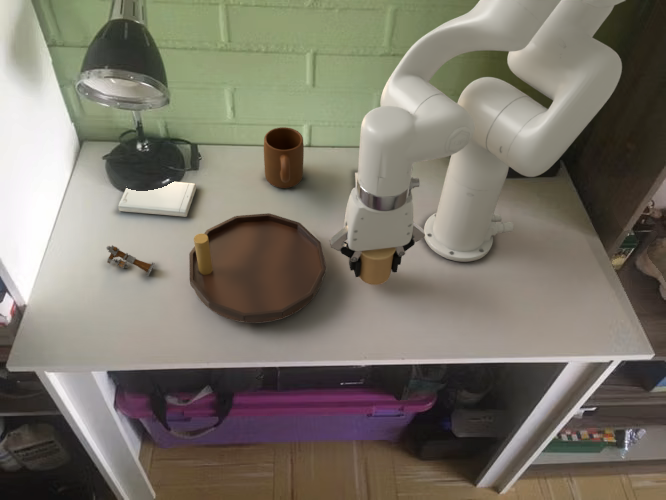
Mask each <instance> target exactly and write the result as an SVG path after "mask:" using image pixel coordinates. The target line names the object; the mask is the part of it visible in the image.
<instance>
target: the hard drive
mask: <svg viewBox="0 0 666 500" xmlns="http://www.w3.org/2000/svg"><path fill="white" fill-rule="evenodd" d="M196 191H197V184H196V183H194V182H193V183H192V182H184V181H174V182H172V183H170V184H168V185H167V186H164V187H162V188H158V189H154V190H148V191H136V190H131V189H128V188H125V190H124V191H123V193H122V196H121V198H120V201H119V202H118V206H117V207H118V212H127V213H139V214H147V215H149V214H150V215H161V216H174V217H184V218H185V217H188V214H189V212H190V208H191V204H192V203H193V199H194V197H195V194H196Z"/></svg>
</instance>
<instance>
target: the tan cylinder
mask: <svg viewBox="0 0 666 500" xmlns="http://www.w3.org/2000/svg"><path fill="white" fill-rule="evenodd" d="M395 251H396V248H395V247H392V248H384V249H375V250H365V251H363V252H361V255H360V260H361V269H360V276H359V277H358V278H359V279H360V280H361V281H362V282H364V283H365V284H368V285H371V286H377V285H382V284H384V283H386V282H387V281H388V280H389V279H390V277H391V275H392V269H391V268H392V261H393V254H394V253H395Z"/></svg>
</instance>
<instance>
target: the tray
mask: <svg viewBox="0 0 666 500" xmlns="http://www.w3.org/2000/svg"><path fill="white" fill-rule="evenodd" d="M193 243H194V245H193V248H191V250H190V251H189V254H188V255H189V257H188V260H189V262H188V263H189V264H188V265H189V266H188V267H189V285H190V287H191V288H192V289H193V290H194V292H195V294H196V296H197V297H198V299H199V301H201V303H203V305H205V307H206V308H208V309H209V310H211V311H212V312H213V313H215V314H217V315H219V316H221V317H224V318H226V319H229V320H231V321H236V322H241V323H247V324H249V323H250V324H259V323H269V322H275V321H278V320H282V319H284V318H287V317H290V316H292V315H294V314H295V313H297V312H299V311H300V310H302V309H303V308H305V307H306V306H307V305H308V304H310V303H311V301H312V300H313V299H314V298H315V297H316V296H317V294H318V292H319V290H320V289H321V287H322V283H323V280H324V277H325V275H326V274H327V273H326V272H327V265H326V261H325V256H324V251H323V246H322V242H321V241H320V240H319V239H318V237H316V236H315V235H314V234H313V233H311V232H310V230H309V229H307V228H306V227H305V226H304V225H303V224H302V223H301V222H299V221H296V220H292V219H289V218H286V217H283V216H279V215H276V214H274V213H267V212H266V213H256V214H241V215H234V216H232V217H230V218H228V219H226V220H224V221H222V222H219V223H218V224H216V225H214V226H212V227H210V228H208V229H206V230H205V232H204V233H201V232H200V233H197V234H195V236H194V237H193Z"/></svg>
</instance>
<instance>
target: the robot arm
mask: <svg viewBox="0 0 666 500" xmlns="http://www.w3.org/2000/svg"><path fill="white" fill-rule="evenodd" d="M623 2H626V0H479V1H478V2H476V4H475V6H474V7H473V8H472V9H471V10H469V11H468V12H466V13H464V14H462V15H460V16H457V17H455V18H452V19H450V20H447V21H446V22H444V23H442V24H440V25H439V26H437V27H435V28H434V29H432V30H430V31H429V32H427V33H426V34H424V35H423V36H422V37H420V38H419V39H418V40H416V41H415V42H414V43H413V44H412V45H411V46H410V47H409V49H408V50H407V51H406V53H405V54H404V55H403V57H402V58H401V59H400V61H399V62H398V64H397V66H396V67H395V69H394V70H393V71H392V73H391V75H390V76H389V78H388V79H387V81H386V83H385V85H384V87H383V89H382V92H381V95H380V100H379V101H380V102H379V103H380V104H379V106H377V107H375V108H372V109H371V110H370V111H368V112H366V114H365V115H364V117H363V118H362V121H361V125H360V135H359V148H358V149H359V150H358V167H357V173H358V178H357V187H356V186H355V187H353V188H352V189H351V191H350V193H349V197H348V199H347V204H346V208H345V214H344V215H345V216H344V221H343V228H341V229H340V231H338V232H337V233H336V234H335V235H333V236H332V237H331V238H330V239H329V245H330V248H331V249H333V250H335V251H337V252H340V253H341V254H342V255H343V256H345V257H347V258H348V259H349V260H348V265H349V270H350V271H353V274H354V277H355V278H359V276H360V269H361V260H360V255H361V252H363V251H365V250H375V249H384V248H392V247H395V248H396V251H395V253H394V254H393V261H392V268H391V273H393V274H396V273H398V270H399V269H398V267H399V266H400V265H401V264H402V259H403V258H402V257H404V256H406V251H408V250H409V249H411V248H412V247H413V246H414V245H415V243H417V242H419V241H421V240H422V239H423V238H424V240H425V242H426V244H427V246H428V247H429V248H430V249H431V250H432V251H433V252H435V253H436V254H437V255H439V256H441V257H443V258H445V259H447V260H450V261H454V262H464V263H467V262H473V261H474V262H475V261H477V260H480V259H482V258H484V257H485V256H486V255H487V254H488V253H489V252H490V250H491V248H492V245H493V242H494V236H496V235H497V234H500V233H501V234H506V233H508V234H509V233H513V231H514V224H513V221H505V222H503V221H502V219H503V218H502V215H501V214H499V213H498V214H494V213H495V210H496V208H497V204H498V202H499V199H500V196H501V193H502V190H503V188H504V185H505V182H506V180H507V176H508V174H509V173H508V172H509V168H511V169H512V170H513V171H515V172H516V173H518V174H519V175H521V176H524V177H526V178H527V177H528V178H535V177H538V176H540V175H542V174H544V173H546V172H547V171H548V170H550V169H551V167H553V166H554V165H555V163H556V162H557V161H558V160H560V158H562V156H563V155H564V154H565V153H566V151H567V150H568V149H569V148H570V146H571V145H572V144H573V143H574V142H575V140H576V139H577V138H578V137H579V136H580V135H581V133H582V132H583V131H584V130H585V128H586V127H588V125H589V124H590V122H592V120H593V119H594V118H595V117H596V116H597V114H598V113H599V112H600V110H601V109H602V108H603V107H604V106H605V104H606V103H607V101H608V100H609V99H610V98H611V96H612V94H613V93H614V92H615V90H616V88H617V86H618V83H619V82H620V79H621V75H622V73H623V71H622V70H623V63H622V58H620V55H619V54H618V53H617V52H616V51H615V50H614V49H613V48H611V47H610V46H609V45H607V44H605V43H604V42H601V41H599V40H598V39H596V38H594V35H595V34H596V33H597V31H598V30H599V28H600V27H601V26H602V25H603V23H604V22H605V21H606V20H607V18H608V17H609V15H610V14H611V13H612V11H613V9H614V7H615V6H616V5H619V4H621V3H623ZM482 51H497V52H508V54H507V60H506V61H507V62H506V63H507V66H508V68H509V70H510V71H511V72H512V73H513V75H514V76H516V77H517V78H519V79H520V80H521V81H523V82H524V83H525V84H527V85H529V87H531V88H533V89H534V90H536V91H537V92H539V93H541V94H542V95H544V96H545V97H547V98H549V99H550V100H552V103H551V104H550V106H549V107H548V108H547V107H546V106H543V104H541V103H540V102H538V101H536V100H535V99H533V98H532V97H531V96H529V95H528V94H526V93H525V92H523V91H521V90H520V89H519V88H517V87H516V86H514V85H512V84H511V83H509V82H506V81H505V80H502V79H500V78H497V77H492V76H483V77H479V78H477V79H474V80H473V81H471V82H470V83H469V84H468V85H466V87H464V89H463V90H462V92H461V94H460V95H459V98H458V99H457V102H456V101H455V100H453V99H452V98H450V97H449V96H448V95H446V94H445V93H444V92H442V91H441V90H440V89H438V88H437V87H436V86H435V85H433V84H432V83H430V81H431V80H432V79H433V77H434V76H435V75H436V73H437V72H438V71H439V70H440V68H441V67H443V66H444V65H445V64H446V63H447V62H449V61H450V60H451V59H453V58H455V57H458V56H461V55H463V54H467V53H471V52H482ZM447 157H450V159H449V162H448V165H447V169H446V173H445V178H444V182H443V186H442V189H441V193H440V198H439V202H438V206H437V209H436V212H434V213H432V214H431V215H430V216H429V217H428V218H427V220H426V221H425V224H424V227H421V226H420V225H418V224H417V223H416V222H415V221H414V200H413V194H412V190H413V189H415V188H419V187H420V186H421V185H420V178H419V177H413V175H412V173H413V170H414V169H413V168H414V165H415V164H416V163H422V162H426V161H433V160H439V159H443V158H447ZM346 241H347V242H346Z"/></svg>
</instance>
